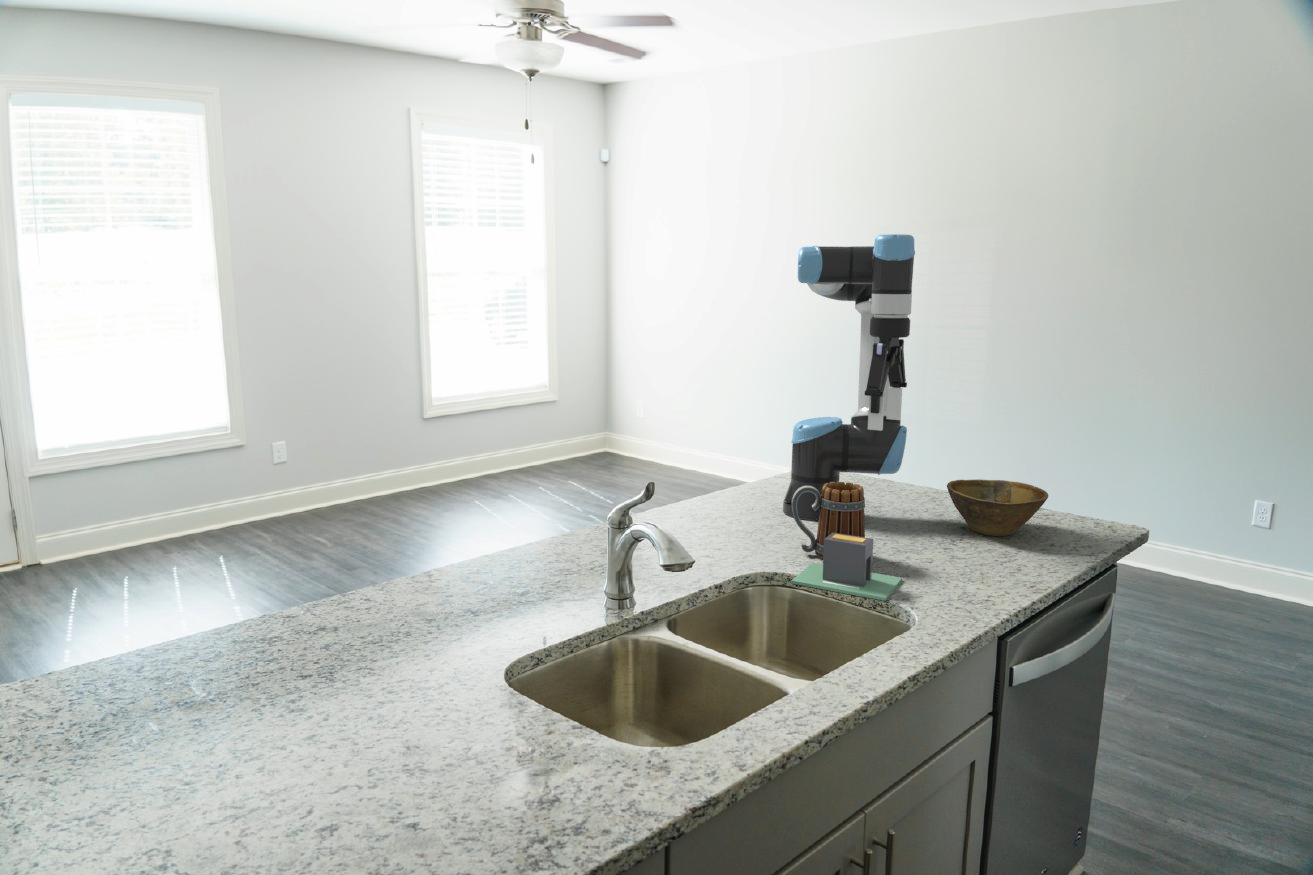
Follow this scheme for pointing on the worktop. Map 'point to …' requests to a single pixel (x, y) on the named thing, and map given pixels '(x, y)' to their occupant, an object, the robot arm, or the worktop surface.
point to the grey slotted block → (847, 559)
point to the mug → (833, 513)
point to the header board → (874, 588)
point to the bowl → (995, 504)
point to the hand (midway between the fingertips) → (884, 424)
